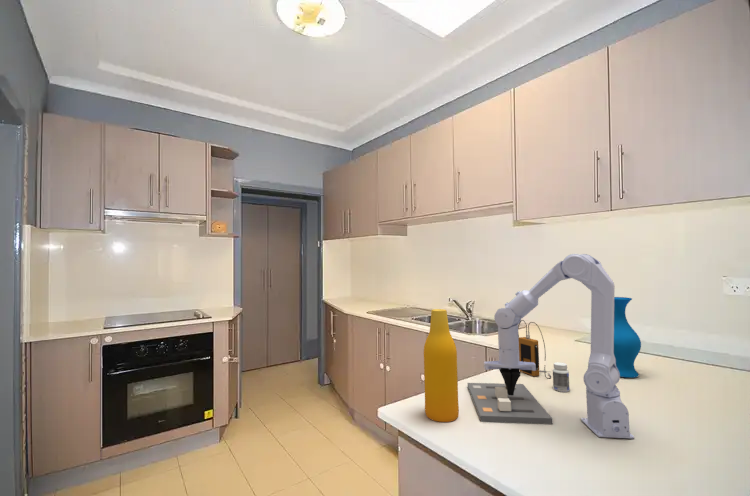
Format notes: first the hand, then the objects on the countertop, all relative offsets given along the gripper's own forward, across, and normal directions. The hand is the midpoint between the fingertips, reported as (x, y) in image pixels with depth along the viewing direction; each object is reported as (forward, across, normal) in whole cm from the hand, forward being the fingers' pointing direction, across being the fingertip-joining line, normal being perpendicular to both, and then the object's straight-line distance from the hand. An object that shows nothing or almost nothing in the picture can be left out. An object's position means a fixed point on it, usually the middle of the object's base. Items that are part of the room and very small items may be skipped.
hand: (510, 394), depth 104 cm
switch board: (+3, +2, 0) cm, 3 cm away
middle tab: (+1, +3, 0) cm, 3 cm away
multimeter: (+3, -17, -31) cm, 35 cm away
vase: (+3, -47, -31) cm, 57 cm away
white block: (+1, +4, +9) cm, 10 cm away
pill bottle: (+3, -19, -13) cm, 23 cm away
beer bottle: (+3, +21, +10) cm, 23 cm away
